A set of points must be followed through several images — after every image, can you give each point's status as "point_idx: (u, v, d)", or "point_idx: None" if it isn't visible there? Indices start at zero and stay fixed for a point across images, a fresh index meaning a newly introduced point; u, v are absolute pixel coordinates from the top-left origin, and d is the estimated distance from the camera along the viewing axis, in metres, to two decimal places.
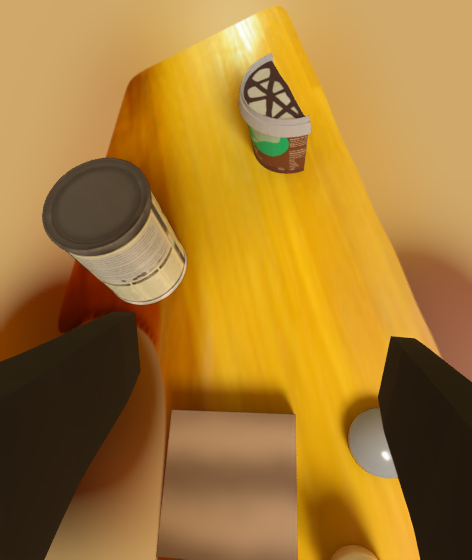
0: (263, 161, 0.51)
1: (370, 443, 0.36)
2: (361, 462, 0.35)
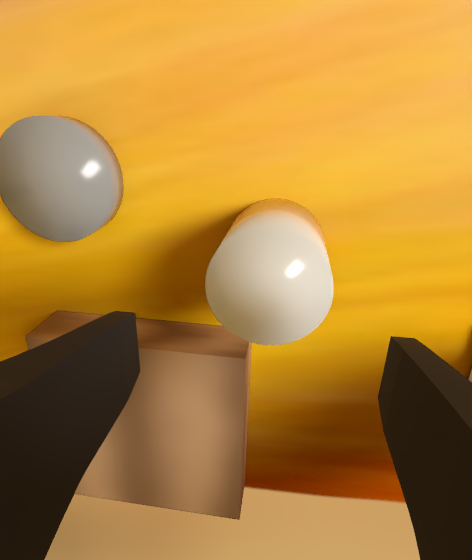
0: None
1: (58, 206, 0.19)
2: (92, 226, 0.19)
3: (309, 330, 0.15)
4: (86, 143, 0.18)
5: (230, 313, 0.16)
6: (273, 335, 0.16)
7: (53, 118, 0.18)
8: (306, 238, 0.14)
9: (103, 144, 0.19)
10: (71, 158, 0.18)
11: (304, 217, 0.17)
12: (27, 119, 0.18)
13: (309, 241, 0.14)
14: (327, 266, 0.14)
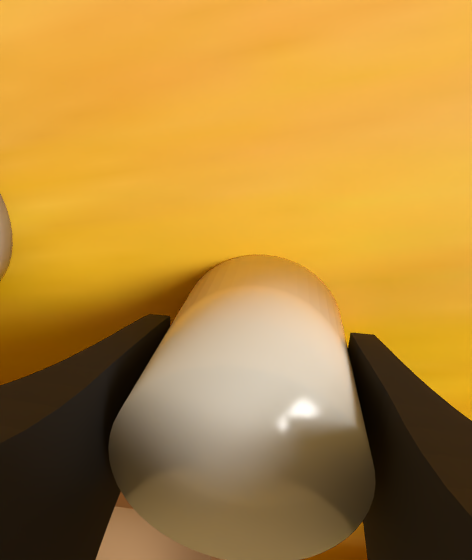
0: None
1: None
2: None
3: (320, 548, 0.08)
4: None
5: (164, 508, 0.08)
6: (250, 550, 0.08)
7: None
8: (317, 387, 0.06)
9: None
10: None
11: (310, 302, 0.09)
12: None
13: (324, 395, 0.06)
14: (363, 446, 0.06)
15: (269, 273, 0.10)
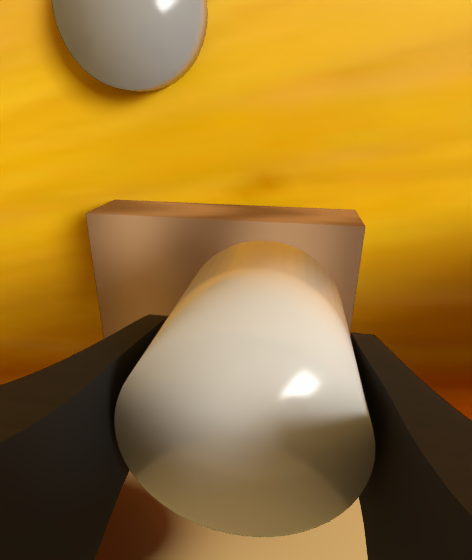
0: None
1: (131, 38, 0.15)
2: (172, 64, 0.16)
3: (315, 523, 0.08)
4: None
5: (164, 476, 0.08)
6: (245, 521, 0.08)
7: None
8: (326, 360, 0.07)
9: None
10: None
11: (317, 286, 0.09)
12: None
13: (332, 368, 0.07)
14: (366, 420, 0.07)
15: (278, 257, 0.10)
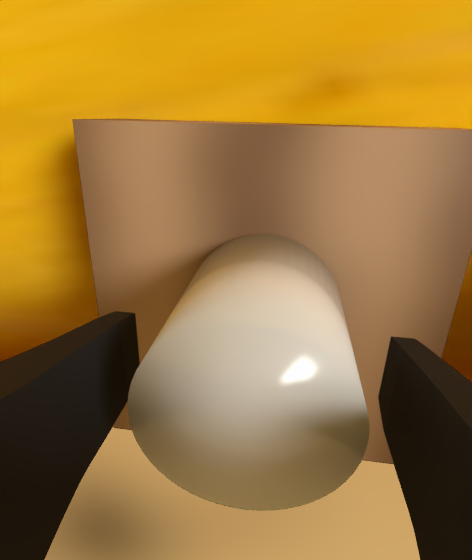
0: None
1: None
2: None
3: (312, 497, 0.08)
4: None
5: (173, 454, 0.09)
6: (248, 497, 0.09)
7: None
8: (326, 348, 0.07)
9: None
10: None
11: (317, 279, 0.10)
12: None
13: (332, 355, 0.07)
14: (362, 403, 0.07)
15: (280, 251, 0.11)
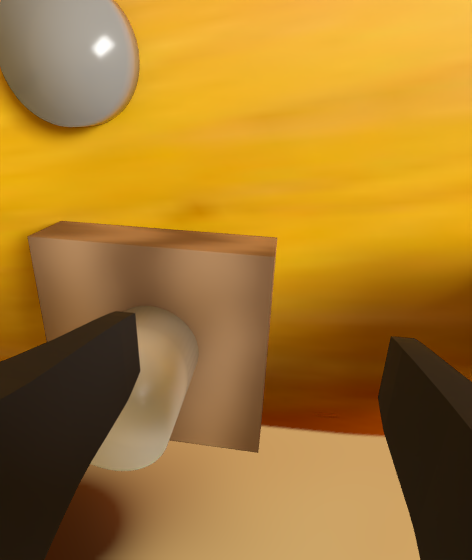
0: None
1: (67, 82, 0.17)
2: (104, 106, 0.17)
3: (148, 463, 0.16)
4: (101, 1, 0.16)
5: None
6: (115, 463, 0.16)
7: None
8: (142, 385, 0.14)
9: (119, 10, 0.17)
10: (83, 20, 0.16)
11: (166, 340, 0.17)
12: None
13: (145, 389, 0.14)
14: (162, 413, 0.15)
15: (150, 321, 0.18)
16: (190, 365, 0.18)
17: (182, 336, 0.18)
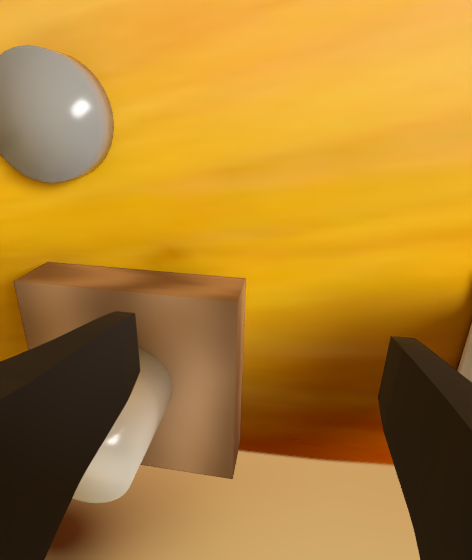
0: None
1: (46, 144, 0.19)
2: (80, 165, 0.19)
3: (115, 497, 0.17)
4: (74, 74, 0.17)
5: None
6: (86, 495, 0.18)
7: (40, 48, 0.17)
8: None
9: (92, 79, 0.18)
10: (59, 91, 0.18)
11: (137, 381, 0.19)
12: (14, 49, 0.17)
13: (109, 434, 0.16)
14: (125, 455, 0.16)
15: None
16: (161, 403, 0.20)
17: (154, 375, 0.20)
